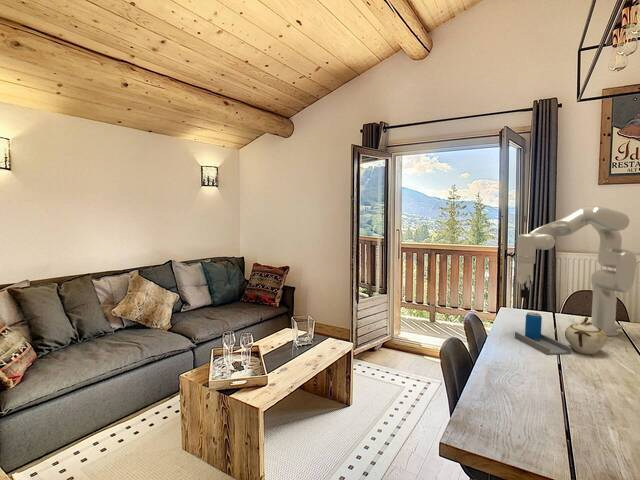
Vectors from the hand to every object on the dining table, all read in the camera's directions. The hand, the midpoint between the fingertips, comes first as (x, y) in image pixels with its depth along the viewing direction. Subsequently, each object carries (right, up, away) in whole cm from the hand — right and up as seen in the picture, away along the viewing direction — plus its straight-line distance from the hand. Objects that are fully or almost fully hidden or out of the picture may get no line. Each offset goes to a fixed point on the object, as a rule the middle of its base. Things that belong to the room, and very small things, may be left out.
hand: (524, 297), depth 180 cm
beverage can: (+1, -19, -5) cm, 19 cm away
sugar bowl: (+17, -21, -17) cm, 32 cm away
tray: (+1, -20, -11) cm, 23 cm away
